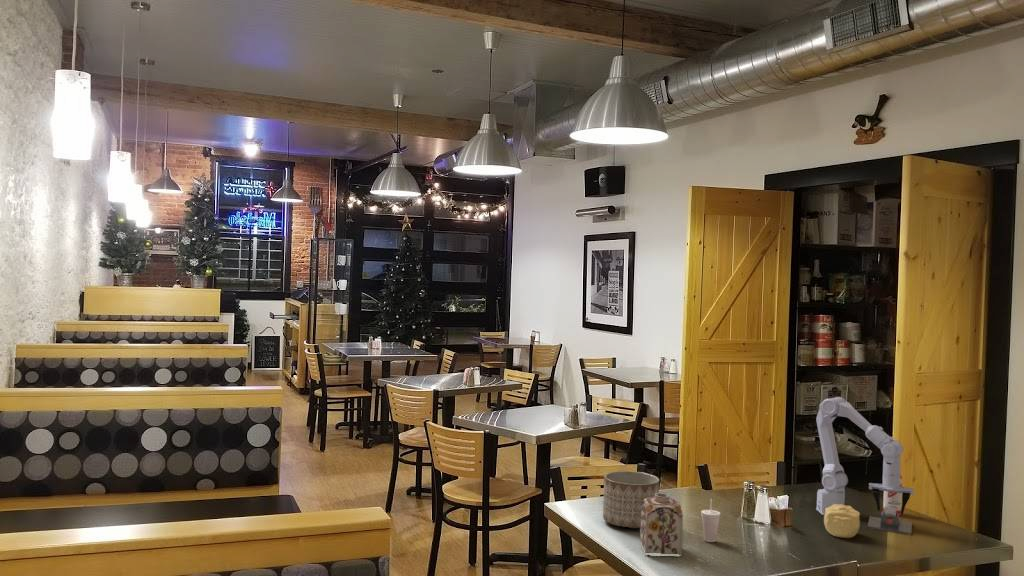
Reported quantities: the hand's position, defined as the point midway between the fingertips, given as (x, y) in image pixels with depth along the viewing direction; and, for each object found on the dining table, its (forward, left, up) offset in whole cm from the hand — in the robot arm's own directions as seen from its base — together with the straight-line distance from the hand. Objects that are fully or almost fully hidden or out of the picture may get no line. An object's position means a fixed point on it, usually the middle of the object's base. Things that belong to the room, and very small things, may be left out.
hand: (890, 511), depth 279 cm
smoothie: (-70, -27, -6) cm, 75 cm away
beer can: (+8, +17, -6) cm, 20 cm away
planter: (-95, -12, -6) cm, 96 cm away
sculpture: (-22, -13, -6) cm, 26 cm away
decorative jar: (-88, -39, -6) cm, 96 cm away
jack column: (0, 0, -5) cm, 5 cm away
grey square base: (0, 0, -5) cm, 5 cm away
